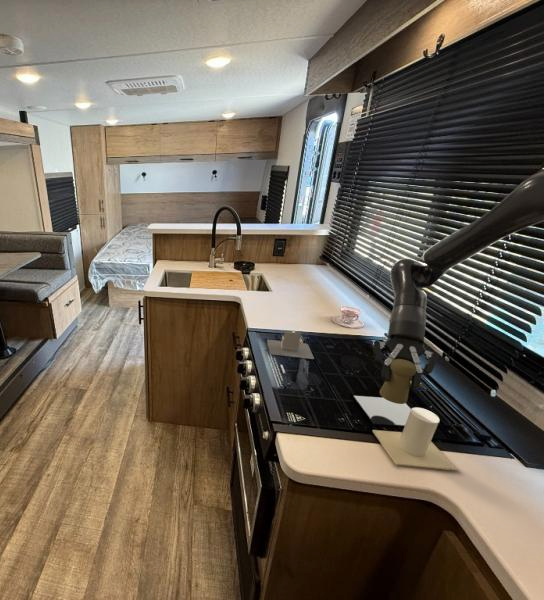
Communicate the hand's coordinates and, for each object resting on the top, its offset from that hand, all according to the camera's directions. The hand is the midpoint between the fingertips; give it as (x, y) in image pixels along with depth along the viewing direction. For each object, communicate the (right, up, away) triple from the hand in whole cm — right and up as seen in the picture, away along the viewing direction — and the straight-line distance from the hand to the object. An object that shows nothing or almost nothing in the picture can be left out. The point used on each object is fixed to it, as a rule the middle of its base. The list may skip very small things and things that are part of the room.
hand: (399, 383), depth 80 cm
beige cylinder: (-3, -14, -7) cm, 15 cm away
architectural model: (-11, +3, +37) cm, 39 cm away
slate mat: (+1, -9, +5) cm, 11 cm away
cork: (+1, -5, +4) cm, 6 cm away
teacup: (+24, +12, +56) cm, 63 cm away
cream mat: (-3, -14, -6) cm, 16 cm away
